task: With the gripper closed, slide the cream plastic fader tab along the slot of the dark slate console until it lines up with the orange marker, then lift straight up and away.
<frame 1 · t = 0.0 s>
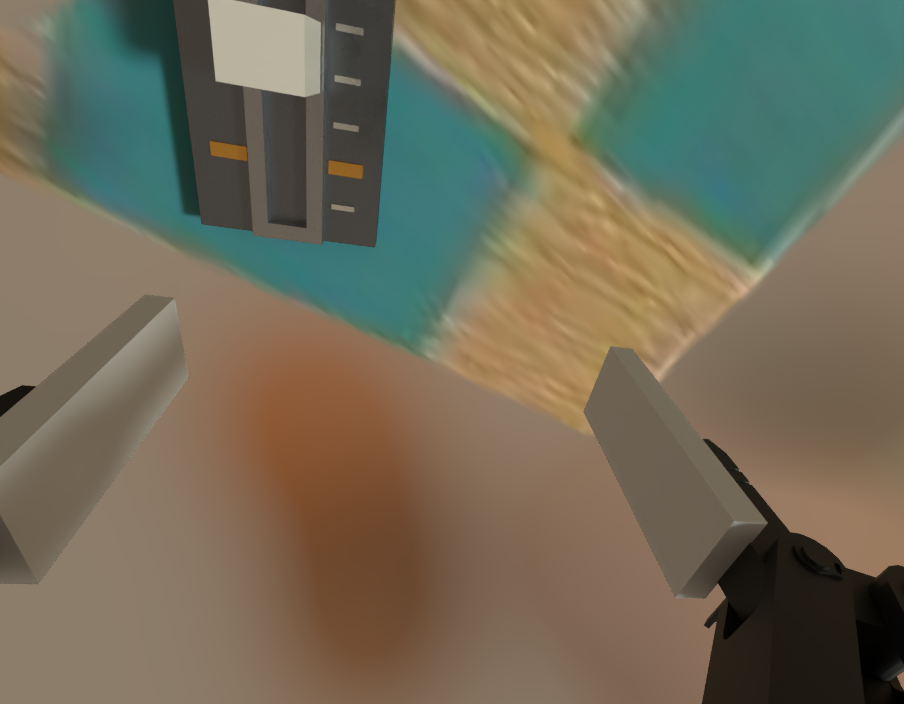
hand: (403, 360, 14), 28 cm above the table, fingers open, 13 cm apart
console: (293, 114, 34), on the table
fader tab: (273, 50, 28), point 5 cm above the table, slide at 0.0 cm
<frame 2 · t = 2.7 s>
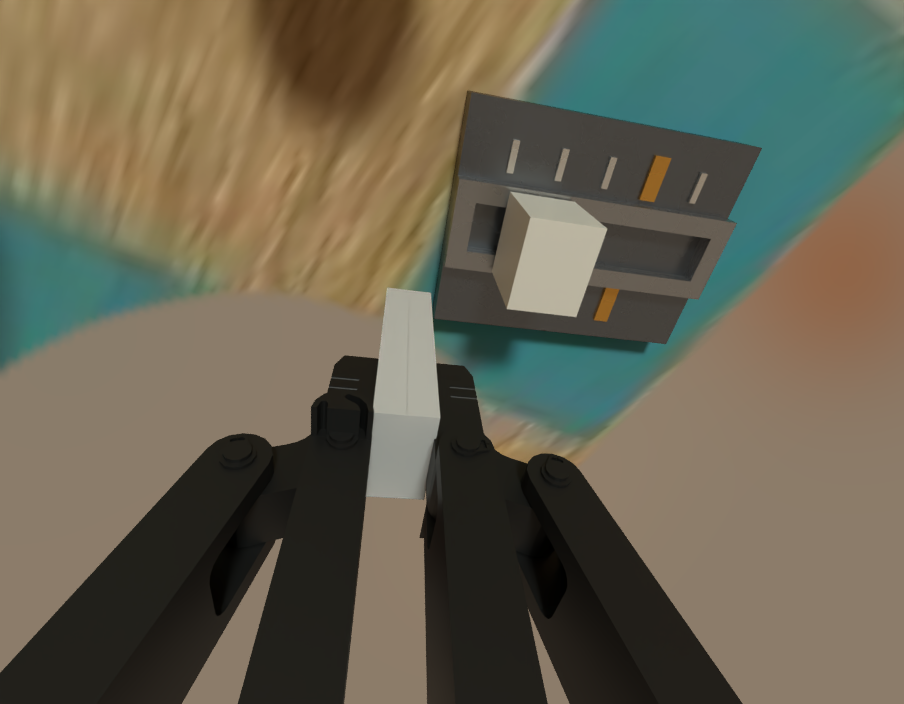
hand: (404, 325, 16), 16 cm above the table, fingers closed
console: (576, 230, 31), on the table
fader tab: (539, 249, 26), point 5 cm above the table, slide at 0.0 cm
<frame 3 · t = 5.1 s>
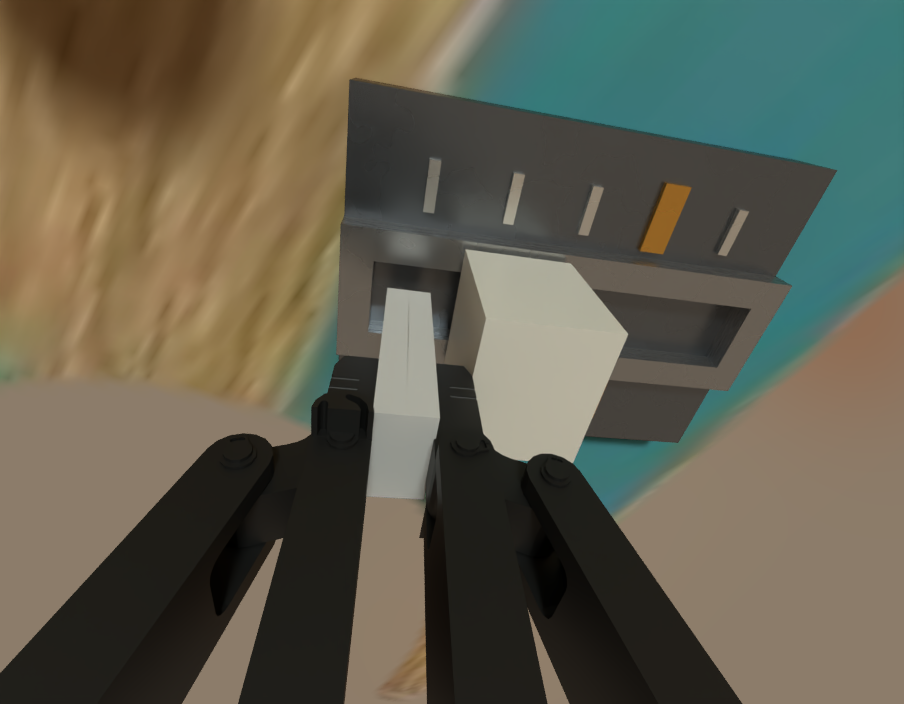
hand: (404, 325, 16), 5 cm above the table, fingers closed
console: (545, 289, 21), on the table
fader tab: (513, 342, 16), point 5 cm above the table, slide at 1.4 cm, touching gripper
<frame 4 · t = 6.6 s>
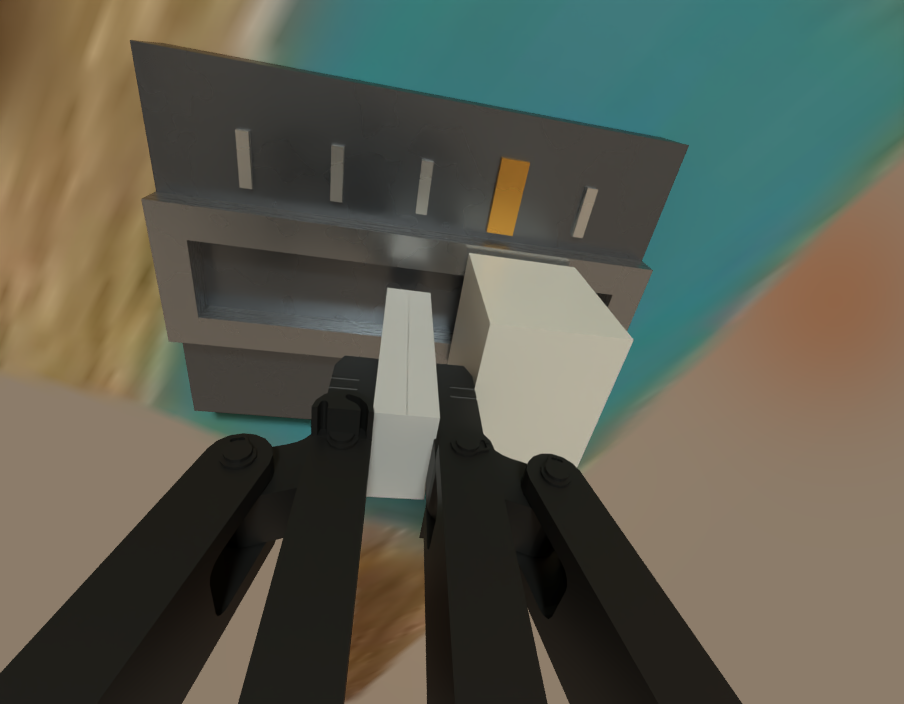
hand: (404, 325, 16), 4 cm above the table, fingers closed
console: (410, 275, 20), on the table
fader tab: (516, 347, 16), point 5 cm above the table, slide at 7.8 cm, touching gripper
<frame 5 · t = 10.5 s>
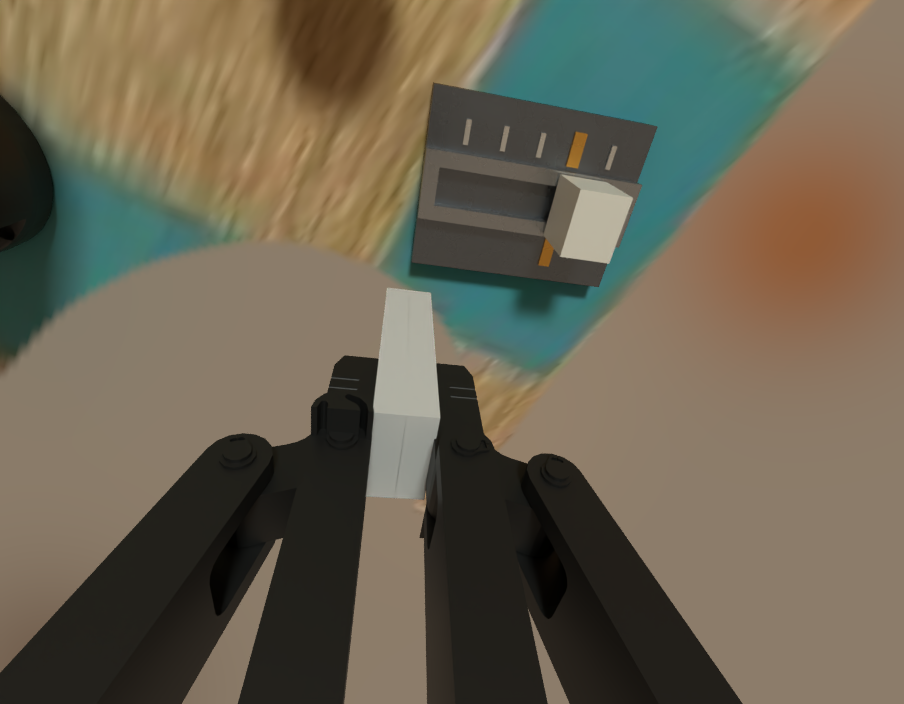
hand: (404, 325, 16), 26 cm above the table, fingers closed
console: (522, 192, 40), on the table
fader tab: (581, 216, 36), point 5 cm above the table, slide at 7.8 cm
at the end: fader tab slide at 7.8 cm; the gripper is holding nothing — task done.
